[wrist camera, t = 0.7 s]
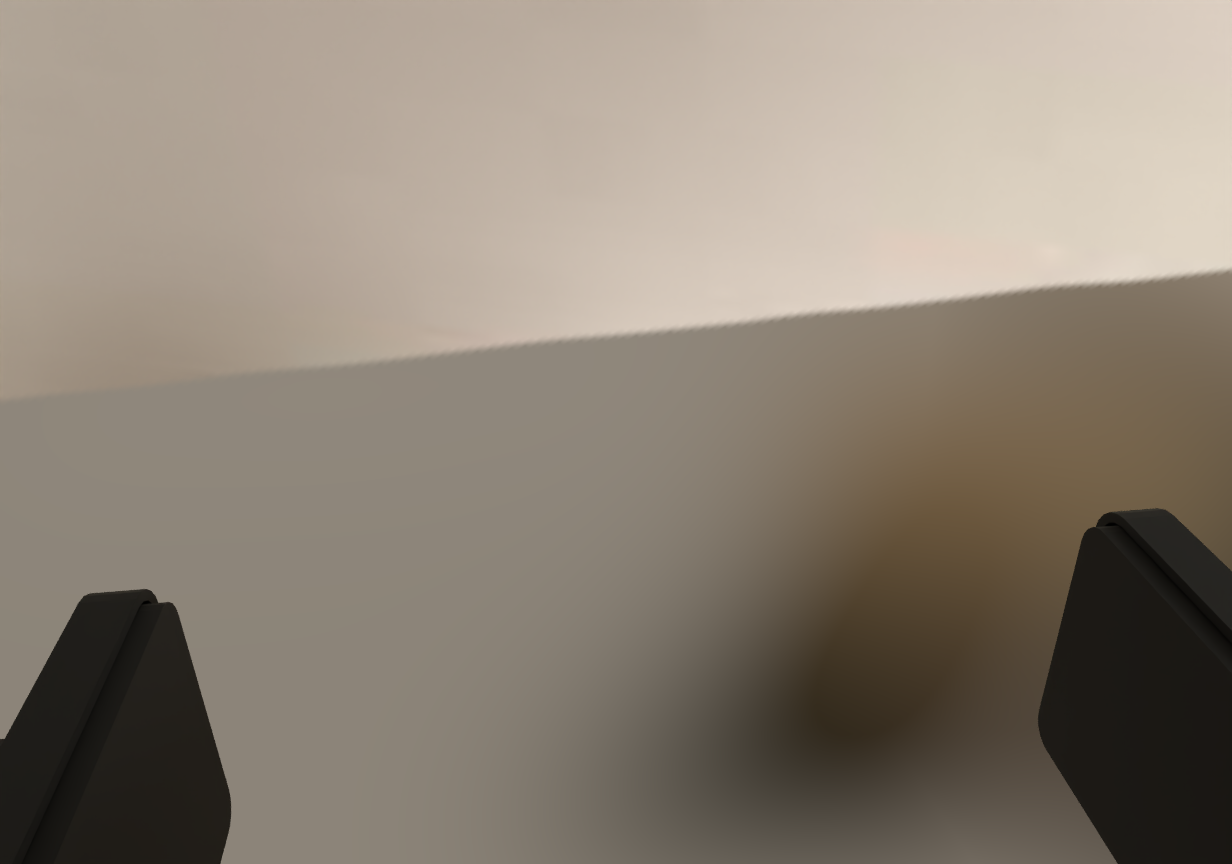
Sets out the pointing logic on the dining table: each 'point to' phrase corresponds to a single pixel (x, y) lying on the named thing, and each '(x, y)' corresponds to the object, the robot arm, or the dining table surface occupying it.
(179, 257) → the dining table surface
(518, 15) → the dining table surface
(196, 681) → the robot arm
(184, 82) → the dining table surface
